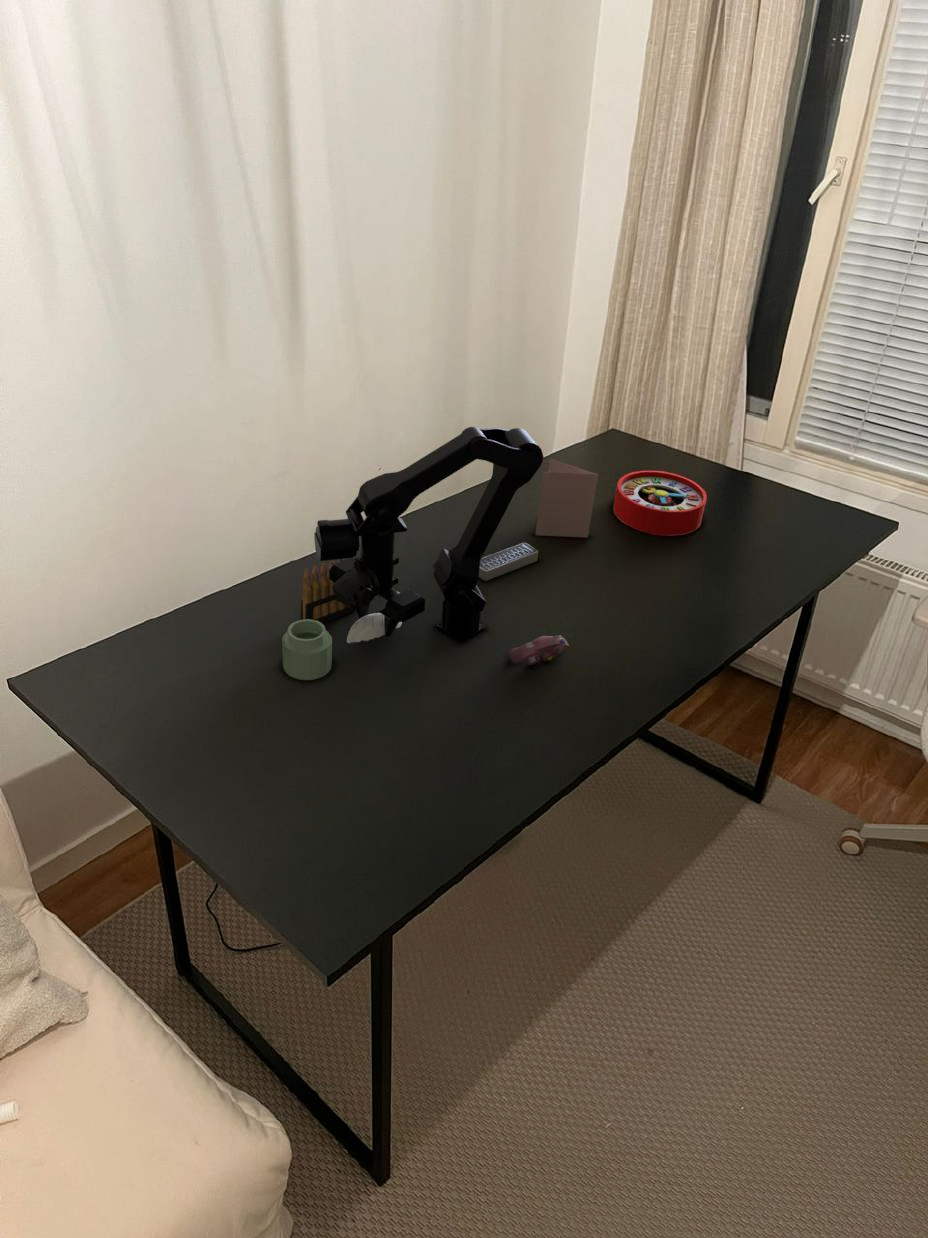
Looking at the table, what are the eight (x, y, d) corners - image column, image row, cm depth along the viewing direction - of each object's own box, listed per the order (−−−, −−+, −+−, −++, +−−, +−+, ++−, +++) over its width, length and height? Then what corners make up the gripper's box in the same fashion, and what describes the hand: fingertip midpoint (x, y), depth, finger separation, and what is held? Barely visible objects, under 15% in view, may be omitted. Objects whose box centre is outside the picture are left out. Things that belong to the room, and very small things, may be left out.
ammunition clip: (305, 628, 181) (304, 572, 174) (300, 623, 182) (299, 567, 175) (355, 610, 186) (355, 555, 180) (349, 605, 188) (350, 550, 181)
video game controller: (515, 676, 176) (527, 657, 170) (504, 654, 178) (517, 635, 172) (562, 663, 180) (576, 645, 174) (552, 642, 182) (565, 623, 176)
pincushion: (392, 614, 184) (393, 588, 181) (412, 629, 180) (413, 603, 177) (337, 635, 177) (337, 609, 174) (357, 652, 174) (358, 626, 170)
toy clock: (612, 467, 232) (698, 473, 232) (608, 490, 235) (693, 496, 236) (622, 508, 215) (714, 515, 216) (618, 532, 219) (708, 538, 219)
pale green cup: (341, 666, 172) (341, 631, 168) (304, 686, 167) (303, 650, 163) (310, 645, 176) (309, 610, 172) (273, 664, 171) (271, 628, 167)
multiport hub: (470, 571, 201) (471, 561, 199) (523, 551, 209) (524, 541, 208) (484, 581, 198) (485, 571, 197) (538, 560, 206) (539, 550, 205)
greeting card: (589, 535, 216) (599, 473, 208) (573, 549, 211) (583, 485, 203) (543, 519, 221) (551, 457, 213) (527, 532, 216) (534, 469, 207)
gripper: (304, 547, 169) (306, 622, 178) (380, 592, 159) (378, 670, 168) (353, 526, 176) (353, 599, 185) (429, 568, 166) (424, 644, 175)
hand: (375, 628), depth 178 cm, fingers closed on pincushion, 6 cm apart
